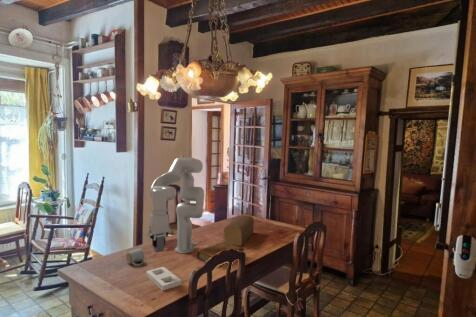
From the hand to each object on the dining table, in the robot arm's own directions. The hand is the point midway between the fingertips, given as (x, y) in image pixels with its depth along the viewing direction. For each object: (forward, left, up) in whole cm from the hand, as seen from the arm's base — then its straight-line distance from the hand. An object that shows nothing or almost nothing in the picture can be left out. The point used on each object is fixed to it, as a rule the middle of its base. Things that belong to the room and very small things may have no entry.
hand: (158, 245), depth 161 cm
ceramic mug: (+3, -24, -17) cm, 29 cm away
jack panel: (0, +6, -17) cm, 18 cm away
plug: (0, 0, -3) cm, 3 cm away
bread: (-75, -23, -17) cm, 80 cm away
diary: (-42, -1, -17) cm, 45 cm away
